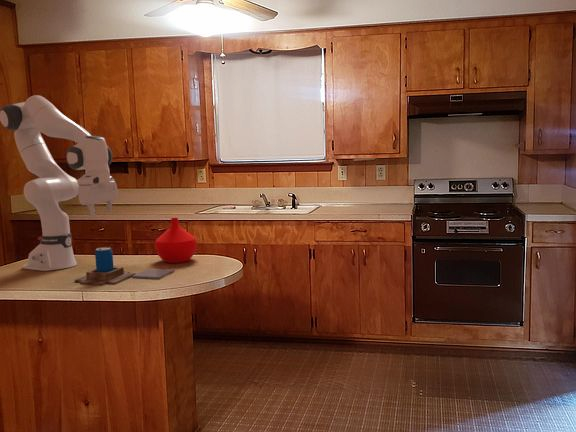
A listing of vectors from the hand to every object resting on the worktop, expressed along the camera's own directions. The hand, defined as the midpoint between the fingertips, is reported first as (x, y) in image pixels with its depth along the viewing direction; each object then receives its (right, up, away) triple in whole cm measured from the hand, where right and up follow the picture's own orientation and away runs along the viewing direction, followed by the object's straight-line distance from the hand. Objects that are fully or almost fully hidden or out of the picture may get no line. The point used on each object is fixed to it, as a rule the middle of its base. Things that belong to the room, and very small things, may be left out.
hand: (101, 213), depth 218 cm
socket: (+1, -25, +4) cm, 26 cm away
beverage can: (+1, -26, +4) cm, 26 cm away
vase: (+23, -21, +32) cm, 44 cm away
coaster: (+19, -24, +7) cm, 31 cm away
